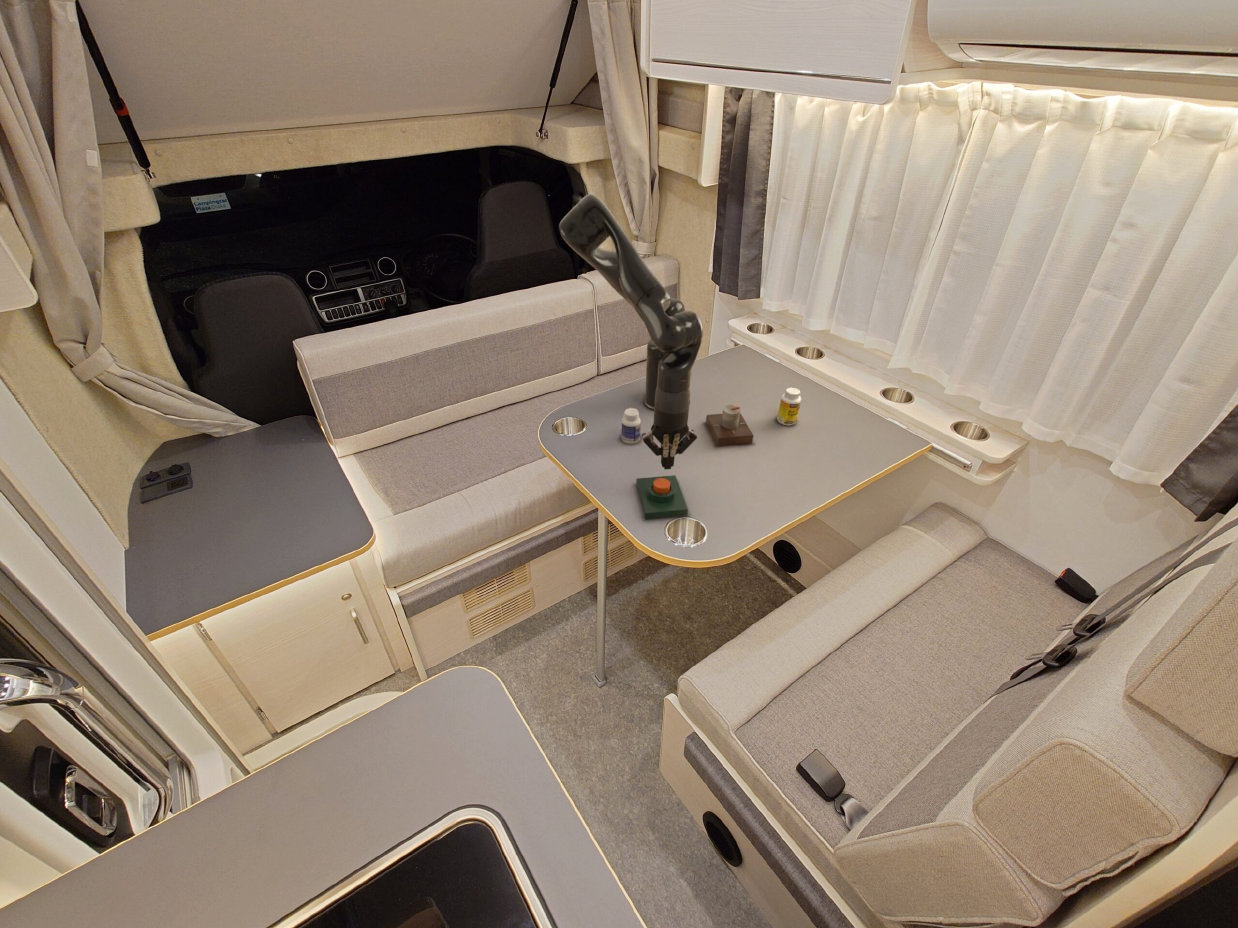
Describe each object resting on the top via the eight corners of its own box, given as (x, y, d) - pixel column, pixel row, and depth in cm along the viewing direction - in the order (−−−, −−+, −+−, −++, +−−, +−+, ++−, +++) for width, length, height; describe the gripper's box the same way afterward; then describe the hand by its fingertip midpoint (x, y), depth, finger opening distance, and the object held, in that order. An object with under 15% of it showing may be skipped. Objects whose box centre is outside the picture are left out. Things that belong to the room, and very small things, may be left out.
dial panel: (705, 423, 163) (706, 414, 162) (738, 420, 165) (739, 411, 163) (717, 446, 154) (718, 437, 152) (751, 444, 155) (753, 434, 153)
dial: (725, 430, 155) (727, 414, 152) (718, 421, 159) (720, 405, 156) (741, 427, 156) (743, 411, 153) (733, 418, 160) (735, 402, 157)
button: (651, 484, 135) (652, 478, 134) (667, 482, 135) (668, 477, 134) (654, 494, 132) (655, 489, 131) (671, 493, 132) (671, 487, 131)
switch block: (636, 485, 140) (636, 472, 138) (674, 481, 142) (675, 469, 139) (645, 520, 130) (645, 507, 128) (687, 516, 131) (688, 503, 129)
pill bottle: (638, 445, 154) (639, 418, 149) (619, 443, 155) (620, 415, 150) (641, 434, 158) (642, 408, 153) (623, 432, 159) (623, 405, 154)
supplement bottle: (784, 428, 162) (791, 397, 156) (772, 418, 166) (779, 388, 160) (800, 423, 164) (807, 393, 157) (787, 414, 168) (794, 384, 161)
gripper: (697, 393, 125) (690, 456, 135) (639, 396, 123) (636, 460, 134) (706, 410, 119) (698, 474, 129) (645, 414, 117) (642, 479, 128)
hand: (666, 467), depth 132 cm, fingers closed
